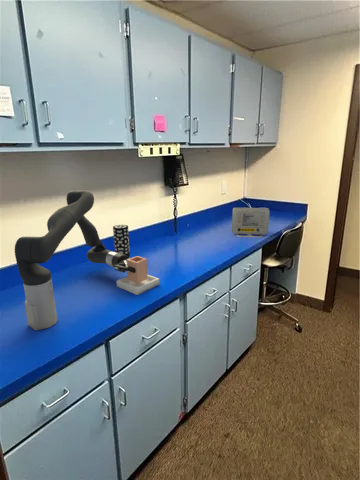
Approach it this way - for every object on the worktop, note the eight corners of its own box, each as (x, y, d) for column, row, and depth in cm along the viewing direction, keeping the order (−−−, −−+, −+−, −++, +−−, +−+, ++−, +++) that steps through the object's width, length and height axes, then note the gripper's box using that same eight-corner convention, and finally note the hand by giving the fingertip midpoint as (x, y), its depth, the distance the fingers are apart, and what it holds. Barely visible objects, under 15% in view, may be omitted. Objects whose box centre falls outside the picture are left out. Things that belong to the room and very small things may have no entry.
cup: (137, 283, 139) (136, 262, 136) (128, 279, 143) (126, 259, 140) (147, 278, 144) (146, 258, 141) (138, 275, 148) (137, 255, 145)
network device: (266, 234, 226) (268, 207, 220) (268, 237, 217) (270, 210, 212) (231, 233, 229) (232, 207, 223) (231, 236, 221) (232, 209, 215)
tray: (137, 295, 135) (137, 288, 134) (116, 286, 143) (116, 280, 142) (159, 284, 145) (159, 278, 144) (138, 277, 154) (138, 271, 153)
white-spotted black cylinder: (112, 260, 177) (110, 226, 171) (124, 256, 183) (122, 224, 177) (120, 263, 171) (118, 229, 165) (133, 260, 177) (131, 226, 171)
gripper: (104, 257, 144) (128, 265, 134) (127, 249, 154) (151, 256, 144) (105, 271, 146) (129, 281, 136) (128, 263, 157) (152, 271, 147)
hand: (140, 268), depth 140 cm, fingers closed on cup, 6 cm apart
